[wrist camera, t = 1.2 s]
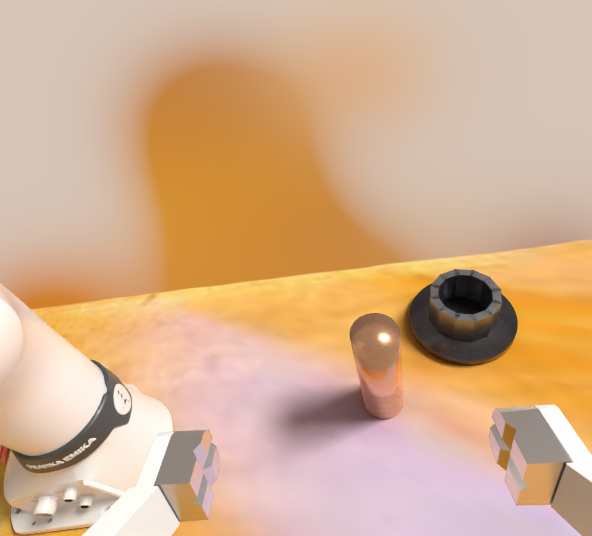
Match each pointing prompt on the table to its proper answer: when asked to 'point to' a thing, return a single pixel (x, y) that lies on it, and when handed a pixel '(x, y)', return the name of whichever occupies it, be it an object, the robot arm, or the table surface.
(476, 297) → the pipe sleeve
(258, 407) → the table surface
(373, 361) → the copper pipe
